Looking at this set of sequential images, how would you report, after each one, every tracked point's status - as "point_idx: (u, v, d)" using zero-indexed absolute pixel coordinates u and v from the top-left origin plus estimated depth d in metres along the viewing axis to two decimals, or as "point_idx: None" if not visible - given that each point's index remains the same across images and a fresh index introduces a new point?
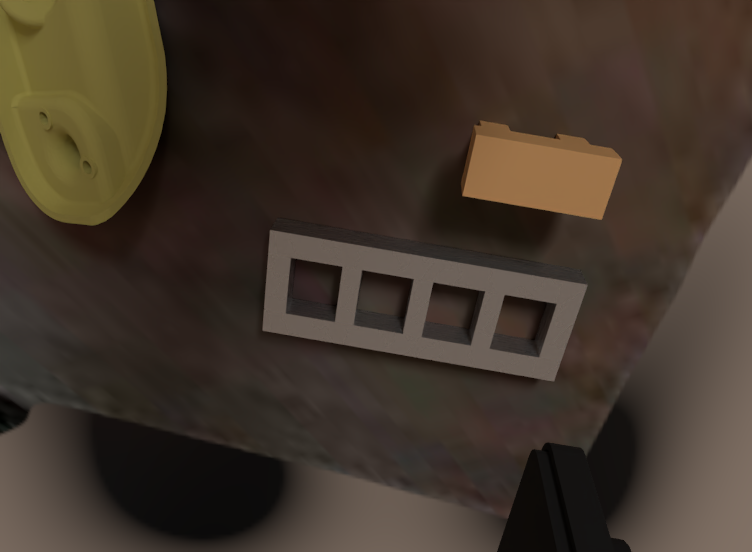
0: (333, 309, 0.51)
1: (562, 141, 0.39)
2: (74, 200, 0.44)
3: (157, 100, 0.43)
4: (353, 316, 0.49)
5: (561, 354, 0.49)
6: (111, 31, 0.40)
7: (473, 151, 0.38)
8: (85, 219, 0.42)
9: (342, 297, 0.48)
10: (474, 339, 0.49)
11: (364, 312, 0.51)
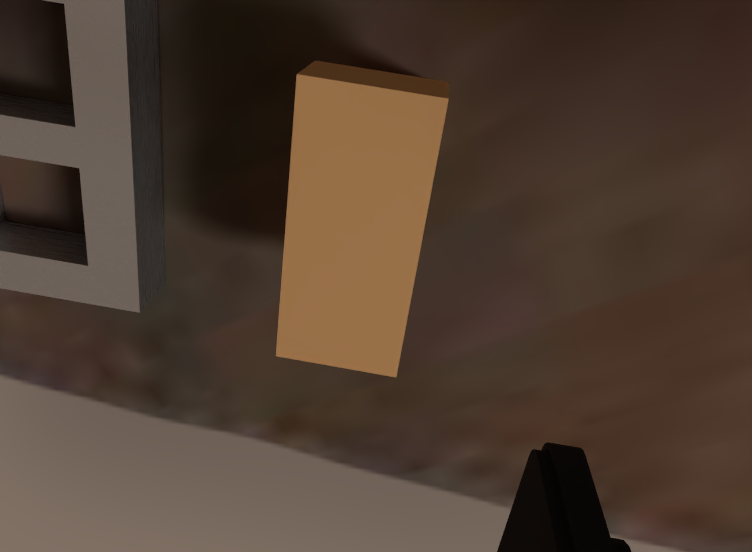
0: None
1: None
2: None
3: None
4: None
5: None
6: None
7: (407, 94, 0.16)
8: None
9: None
10: None
11: None
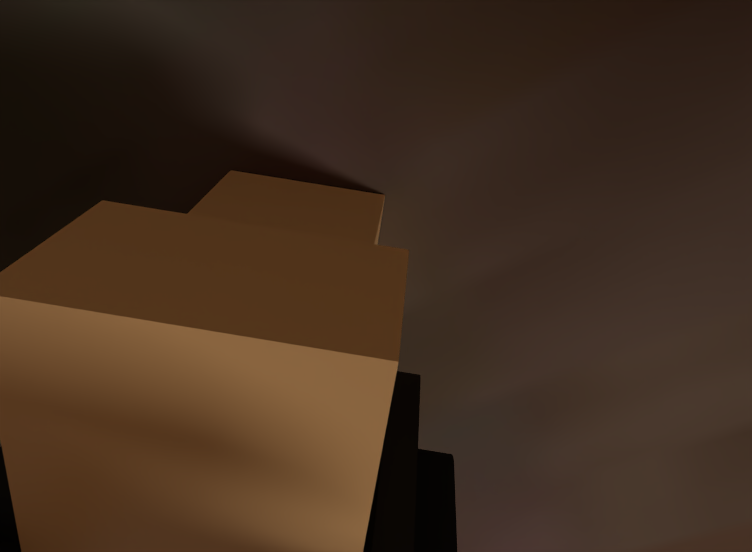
0: None
1: None
2: None
3: None
4: None
5: None
6: None
7: (284, 347, 0.06)
8: None
9: None
10: None
11: None
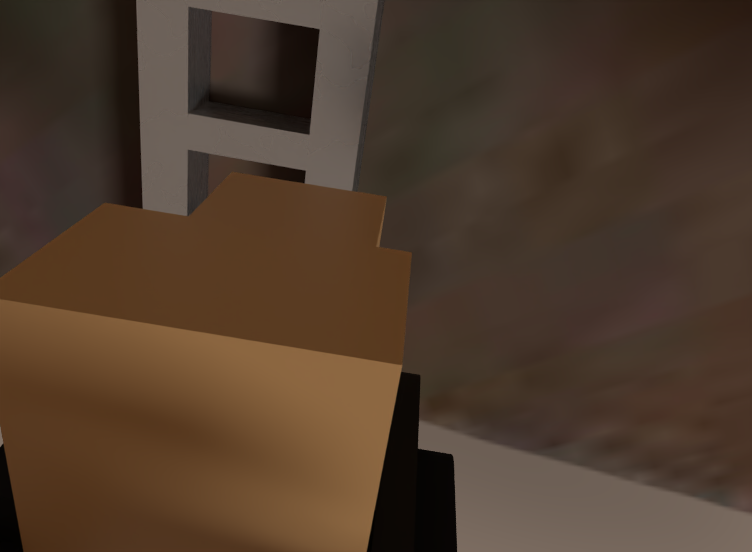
0: None
1: None
2: None
3: None
4: None
5: None
6: None
7: (287, 351, 0.06)
8: None
9: None
10: (203, 119, 0.25)
11: None
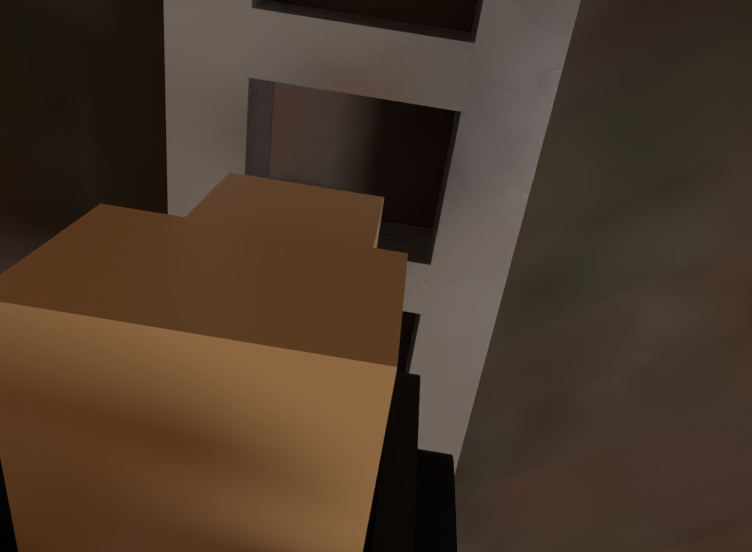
0: None
1: None
2: None
3: None
4: None
5: None
6: None
7: (282, 352, 0.06)
8: None
9: None
10: None
11: None
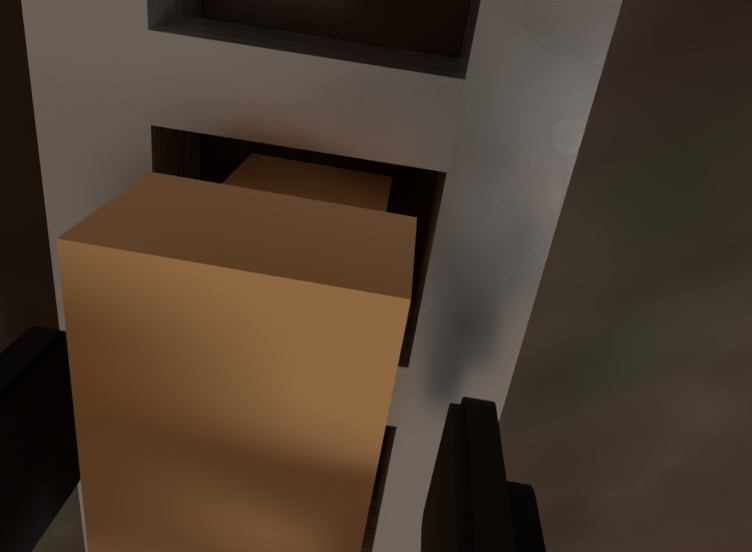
0: None
1: None
2: None
3: None
4: None
5: None
6: None
7: (316, 287, 0.07)
8: None
9: None
10: None
11: None
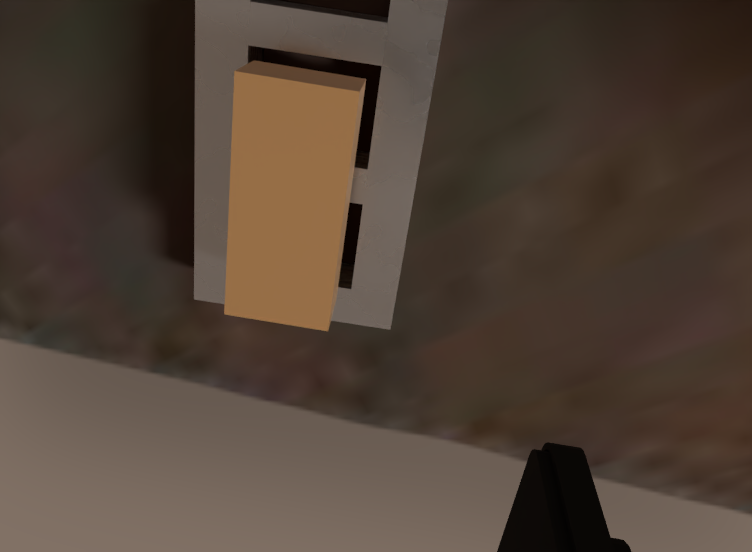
0: None
1: (344, 231, 0.24)
2: None
3: None
4: None
5: None
6: None
7: (326, 88, 0.19)
8: None
9: None
10: None
11: None
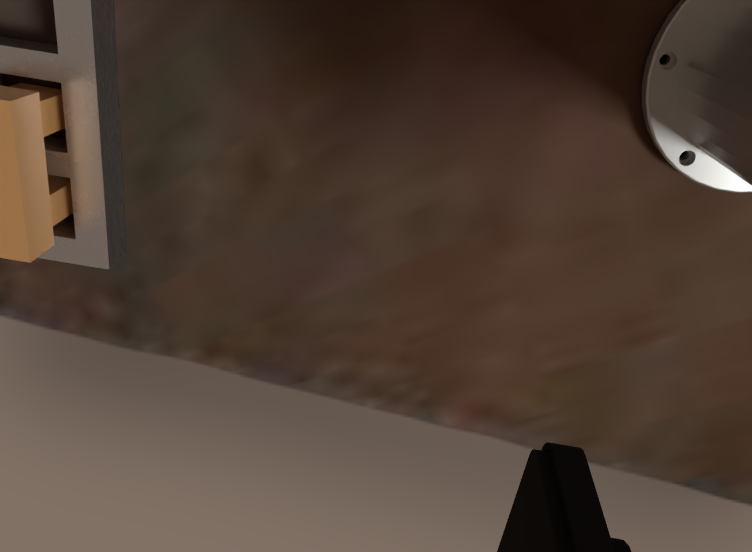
0: None
1: (45, 195, 0.35)
2: None
3: None
4: None
5: None
6: None
7: None
8: None
9: None
10: None
11: None
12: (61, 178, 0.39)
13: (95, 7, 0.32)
